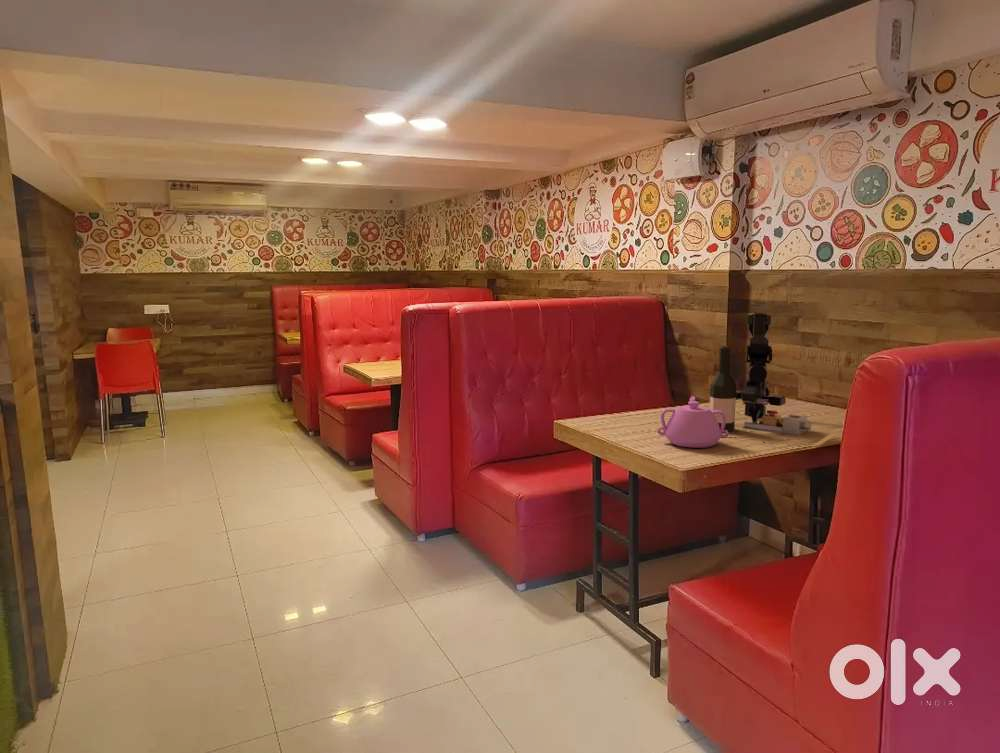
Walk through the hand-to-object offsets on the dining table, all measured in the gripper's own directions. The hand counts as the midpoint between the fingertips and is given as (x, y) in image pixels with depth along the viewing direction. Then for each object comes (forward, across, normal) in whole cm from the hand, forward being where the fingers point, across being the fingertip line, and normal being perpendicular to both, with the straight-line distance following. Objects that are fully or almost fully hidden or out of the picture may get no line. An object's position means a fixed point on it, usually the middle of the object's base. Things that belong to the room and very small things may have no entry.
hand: (754, 421), depth 237 cm
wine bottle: (+3, -6, -13) cm, 15 cm away
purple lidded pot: (+3, -8, -32) cm, 33 cm away
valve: (+1, +6, 0) cm, 6 cm away
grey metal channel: (+2, +7, 0) cm, 7 cm away
